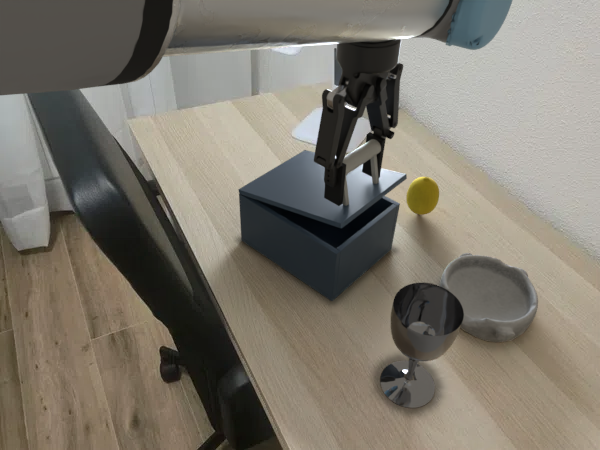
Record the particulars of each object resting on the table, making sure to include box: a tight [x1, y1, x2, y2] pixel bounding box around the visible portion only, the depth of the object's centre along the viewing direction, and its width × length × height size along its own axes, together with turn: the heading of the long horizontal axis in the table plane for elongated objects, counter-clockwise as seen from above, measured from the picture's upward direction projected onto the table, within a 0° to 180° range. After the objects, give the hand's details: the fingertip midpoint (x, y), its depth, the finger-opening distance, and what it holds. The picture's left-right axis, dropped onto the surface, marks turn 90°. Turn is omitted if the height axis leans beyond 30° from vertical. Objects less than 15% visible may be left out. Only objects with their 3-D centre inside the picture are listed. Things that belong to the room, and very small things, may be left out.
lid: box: [237, 139, 408, 228], centre depth 82 cm, size 20×16×8 cm
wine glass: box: [379, 282, 464, 409], centre depth 67 cm, size 8×8×15 cm
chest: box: [238, 193, 401, 302], centre depth 89 cm, size 20×16×10 cm
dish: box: [439, 252, 539, 343], centre depth 81 cm, size 14×14×5 cm
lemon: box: [405, 176, 440, 216], centre depth 96 cm, size 6×6×8 cm
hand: (352, 187), depth 79 cm, fingers closed on lid, 8 cm apart
